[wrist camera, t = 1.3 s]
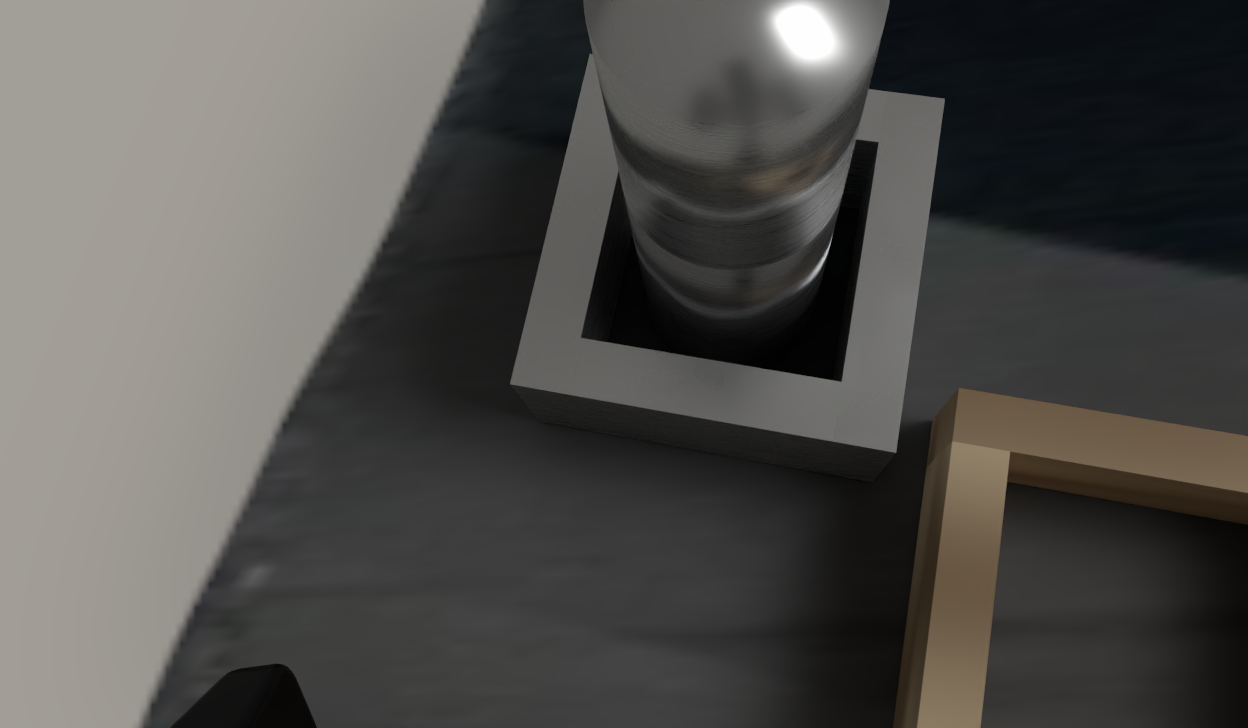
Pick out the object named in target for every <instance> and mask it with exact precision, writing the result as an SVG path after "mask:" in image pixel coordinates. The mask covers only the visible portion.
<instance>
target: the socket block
mask: <svg viewBox="0 0 1248 728" xmlns="http://www.w3.org/2000/svg"><path fill="white" fill-rule="evenodd" d="M944 101H945V99H942V98H934V97H926V96H918V95H910V94H902V93H894V92H887V91H879V90H871V89H868V93H867V97H866V101H865V105H864V110H863V114H862V118H861V122H860V126H859V130H858V134H857V138H856V142H855V146H854V150H853V154H852V158H851V163H850V167H849V171H848V175H847V179H846V183H845V187H844V191H843V195H842V199H841V203H840V207H847V208H854V209H859V215H858V221H857V228H856V234H855V241H854V247H853V253H852V260H851V266H850V272H849V279H848V285H847V292H846V298H845V304H844V311H843V317H842V323H841V330H840V336H839V343H838V349H837V355H836V362H835V368H834V374H833V380H827V379H821V378H816V377H810V376H804V375H798V374H792V373H786V372H780V371H774V370H768V369H762V368H756V367H750V366H744V365H739V364H733V363H727V362H721V361H715V360H709V359H703V358H697V357H691V356H685V355H679V354H673V353H668V352H662V351H656V350H650V349H644V348H638V347H632V346H626V345H620V344H614V343H608V341H609V337H610V332H611V328H612V323H613V319H614V314H615V309H616V305H617V300H618V296H619V291H620V287H621V282H622V277H623V273H624V268H625V264H626V259H627V254H628V250H629V245H630V241H631V236H632V230H631V225H630V220H629V216H628V211H627V207H626V202H625V198H624V193H623V189H622V184H621V179H620V175H619V170H618V166H617V161H616V157H615V152H614V147H613V143H612V138H611V134H610V129H609V125H608V120H607V115H606V111H605V106H604V102H603V97H602V93H601V88H600V84H599V79H598V74H597V70H596V65H595V61H594V56H593V54H590V56H589V60H588V64H587V68H586V72H585V76H584V80H583V85H582V89H581V93H580V97H579V101H578V105H577V109H576V113H575V118H574V122H573V126H572V130H571V134H570V138H569V142H568V147H567V151H566V155H565V159H564V163H563V167H562V171H561V175H560V180H559V184H558V188H557V192H556V196H555V200H554V204H553V209H552V213H551V217H550V221H549V225H548V229H547V233H546V237H545V242H544V246H543V250H542V254H541V258H540V262H539V266H538V271H537V275H536V279H535V283H534V287H533V291H532V295H531V299H530V304H529V308H528V312H527V316H526V320H525V324H524V328H523V333H522V337H521V341H520V345H519V349H518V353H517V357H516V361H515V366H514V370H513V374H512V378H511V382H510V385H511V386H512V387H513V389H514V390H515V391H516V393H517V394H518V395H519V397H520V398H521V399H522V400H523V402H524V403H525V404H526V406H527V407H528V408H529V410H530V411H531V412H532V413H533V415H534V416H535V417H536V419H537V420H538V421H539V422H545V423H550V424H556V425H561V426H567V427H572V428H578V429H583V430H589V431H594V432H600V433H605V434H611V435H616V436H622V437H627V438H633V439H638V440H644V441H649V442H654V443H660V444H665V445H671V446H676V447H682V448H687V449H693V450H698V451H704V452H709V453H715V454H720V455H726V456H731V457H737V458H742V459H748V460H753V461H759V462H764V463H770V464H775V465H781V466H786V467H791V468H797V469H802V470H808V471H813V472H819V473H824V474H830V475H835V476H841V477H846V478H852V479H857V480H863V481H868V482H873V481H874V480H875V479H876V478H877V476H878V475H879V474H880V473H881V471H882V470H883V469H884V468H885V466H886V465H887V464H888V462H889V461H890V460H891V459H892V457H893V456H894V455H895V454H896V450H897V443H898V436H899V428H900V421H901V414H902V407H903V399H904V392H905V385H906V378H907V370H908V363H909V356H910V348H911V341H912V334H913V327H914V319H915V312H916V305H917V298H918V290H919V283H920V276H921V268H922V261H923V254H924V247H925V239H926V232H927V225H928V218H929V210H930V203H931V196H932V188H933V181H934V174H935V167H936V159H937V152H938V145H939V138H940V130H941V123H942V116H943V108H944Z"/></svg>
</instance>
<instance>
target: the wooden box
mask: <svg viewBox="0 0 1248 728" xmlns="http://www.w3.org/2000/svg"><path fill="white" fill-rule="evenodd" d="M1007 482H1011V483H1017V484H1023V485H1028V486H1034V487H1039V488H1045V489H1050V490H1056V491H1062V492H1067V493H1073V494H1078V495H1084V496H1090V497H1095V498H1101V499H1106V500H1112V501H1118V502H1123V503H1129V504H1134V505H1140V506H1145V507H1151V508H1157V509H1162V510H1168V511H1173V512H1179V513H1185V514H1190V515H1196V516H1201V517H1207V518H1212V519H1218V520H1224V521H1229V522H1235V523H1240V524H1246V525H1248V436H1243V435H1237V434H1231V433H1225V432H1219V431H1214V430H1208V429H1202V428H1196V427H1190V426H1184V425H1178V424H1172V423H1166V422H1160V421H1154V420H1148V419H1142V418H1136V417H1130V416H1124V415H1118V414H1112V413H1106V412H1100V411H1094V410H1088V409H1082V408H1076V407H1070V406H1064V405H1058V404H1052V403H1046V402H1040V401H1034V400H1028V399H1022V398H1016V397H1010V396H1004V395H998V394H992V393H986V392H980V391H974V390H968V389H962V388H959V389H958V390H957V391H956V392H955V393H954V395H953V396H952V397H951V398H950V399H949V401H948V402H947V403H946V404H945V405H944V407H943V408H942V409H941V410H940V411H939V413H938V414H937V415H936V416H935V417H934V419H933V420H932V428H931V436H930V444H929V451H928V459H927V467H926V475H925V482H924V490H923V498H922V506H921V513H920V521H919V529H918V537H917V544H916V552H915V560H914V568H913V575H912V583H911V591H910V598H909V606H908V614H907V622H906V629H905V637H904V645H903V653H902V660H901V668H900V676H899V684H898V691H897V699H896V707H895V715H894V722H893V728H980V726H981V717H982V708H983V699H984V689H985V680H986V671H987V662H988V652H989V643H990V634H991V624H992V615H993V606H994V597H995V587H996V578H997V569H998V560H999V550H1000V541H1001V532H1002V523H1003V513H1004V504H1005V495H1006V486H1007Z"/></svg>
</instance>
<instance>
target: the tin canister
mask: <svg viewBox="0 0 1248 728" xmlns="http://www.w3.org/2000/svg"><path fill="white" fill-rule="evenodd" d="M583 4H584V11H585V19H586V24H587V29H588V33H589V38H590V42H591V47H592V52H593V56H594V61H595V65H596V70H597V74H598V79H599V84H600V88H601V93H602V97H603V102H604V106H605V111H606V115H607V120H608V125H609V129H610V134H611V138H612V143H613V147H614V152H615V157H616V161H617V166H618V170H619V175H620V179H621V184H622V189H623V193H624V198H625V202H626V207H627V211H628V216H629V220H630V225H631V230H632V234H633V239H634V243H635V248H636V252H637V257H638V262H639V266H640V271H641V275H642V280H643V284H644V289H645V293H646V298H647V303H648V307H649V312H650V315H651V319H652V322H653V324H654V327H655V329H656V331H657V333H658V334H659V336H660V338H661V339H662V341H663V342H664V343H665V344H666V346H667V347H668V348H669V349H670V350H671V351H672V352H673V353H674V354H679V355H685V356H691V357H697V358H703V359H709V360H715V361H721V362H727V363H733V364H739V365H744V366H750V367H756V368H762V369H764V368H766V367H768V366H771V365H773V364H774V363H776V362H778V361H780V360H781V359H782V358H784V357H785V356H786V355H788V354H789V353H790V352H791V351H792V350H793V349H794V348H795V347H796V346H797V345H798V343H799V342H800V341H801V339H802V338H803V337H804V335H805V333H806V331H807V330H808V328H809V325H810V323H811V320H812V318H813V314H814V309H815V305H816V301H817V297H818V293H819V289H820V285H821V281H822V277H823V273H824V269H825V265H826V261H827V256H828V252H829V248H830V244H831V240H832V236H833V232H834V228H835V224H836V220H837V216H838V212H839V207H840V203H841V199H842V195H843V191H844V187H845V183H846V179H847V175H848V171H849V167H850V163H851V158H852V154H853V150H854V146H855V142H856V138H857V134H858V130H859V126H860V122H861V118H862V114H863V110H864V105H865V101H866V97H867V93H868V89H869V85H870V81H871V77H872V73H873V69H874V65H875V61H876V56H877V52H878V48H879V44H880V40H881V36H882V32H883V28H884V24H885V20H886V15H887V11H888V7H889V0H584V3H583Z"/></svg>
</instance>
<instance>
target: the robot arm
mask: <svg viewBox="0 0 1248 728" xmlns="http://www.w3.org/2000/svg"><path fill="white" fill-rule="evenodd" d="M170 728H317V726H316V724H315V722H314V719H313V717H312V715H311V712H310V710H309V708H308V705H307V703H306V701H305V698H304V696H303V693H302V691H301V689H300V686H299V684H298V682H297V679H296V677H295V676H294V674H293V672H292V671H291V670H290V669H289V668H288V667H287V666H285V665H282V664H270V665H262V666H255V667H248V668H241V669H237V670H234V671H231V672H229V673H227V674H226V675H225V676H224V677H222V678H221V679H220V680H219V681H218V682H217V683H216V684H215V685H214V686H213V687H212V688H211V689H210V690H209V691H208V692H207V693H205V694H204V695H203V696H202V697H201V698H200V699H199V700H198V701H197V702H196V703H195V704H194V705H193V706H192V707H191V708H190V709H189V710H188V711H187V712H186V713H185V714H184V715H183V716H182V717H181V718H179V719H178V720H177V721H176V722H175V723H174V724H173V725H172V726H171V727H170Z"/></svg>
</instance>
